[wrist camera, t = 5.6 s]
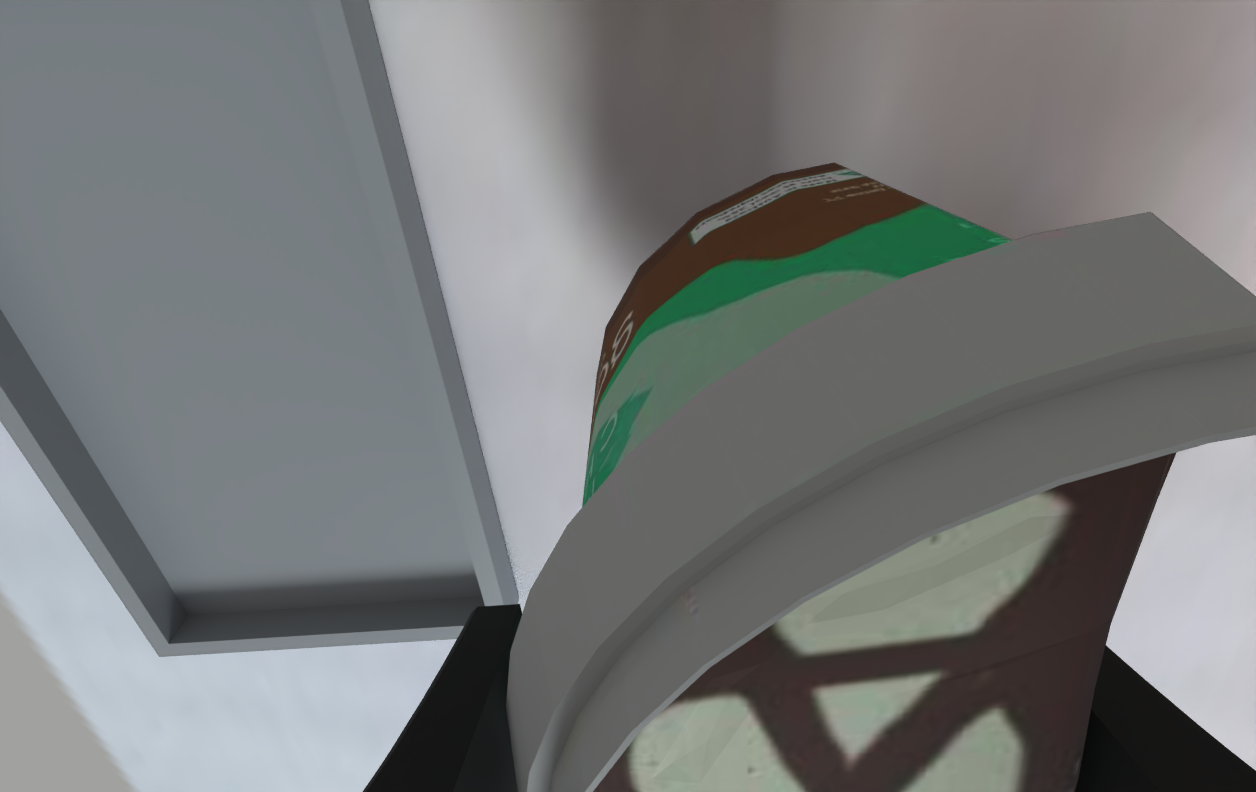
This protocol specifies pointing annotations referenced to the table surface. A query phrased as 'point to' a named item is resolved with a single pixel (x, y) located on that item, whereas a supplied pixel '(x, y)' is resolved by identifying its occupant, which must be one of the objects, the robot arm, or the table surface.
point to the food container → (867, 496)
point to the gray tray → (235, 326)
